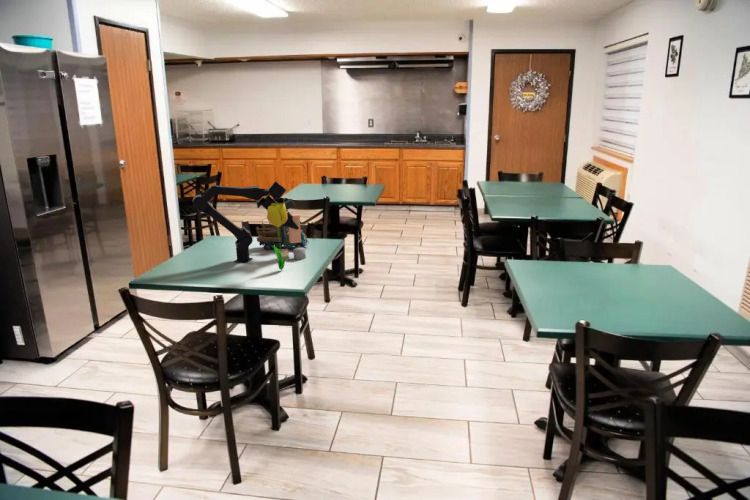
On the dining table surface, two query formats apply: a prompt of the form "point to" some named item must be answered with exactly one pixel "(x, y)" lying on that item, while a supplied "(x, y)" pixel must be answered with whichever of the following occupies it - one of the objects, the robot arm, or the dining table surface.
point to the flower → (277, 225)
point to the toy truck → (272, 237)
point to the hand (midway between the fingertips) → (297, 227)
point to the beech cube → (284, 254)
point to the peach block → (295, 230)
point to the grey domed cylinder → (299, 253)
